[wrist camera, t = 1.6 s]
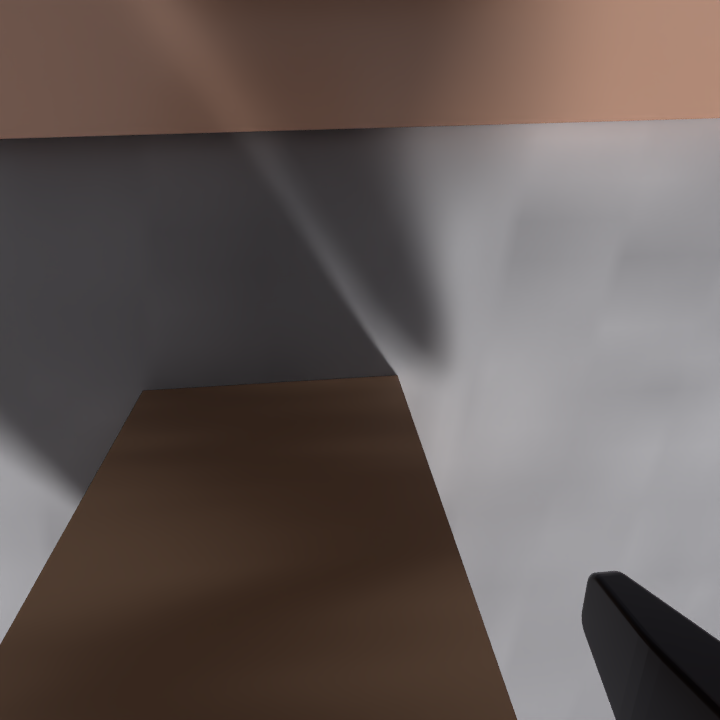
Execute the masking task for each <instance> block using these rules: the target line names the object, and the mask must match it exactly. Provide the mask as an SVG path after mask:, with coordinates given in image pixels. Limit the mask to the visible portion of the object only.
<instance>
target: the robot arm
mask: <svg viewBox="0 0 720 720" xmlns="http://www.w3.org/2000/svg"><path fill="white" fill-rule="evenodd" d="M582 625H583V630H584V633H585V636H586V638H587V641H588V644H589V647H590V649H591V652H592V655H593V658H594V660H595V663H596V666H597V669H598V672H599V674H600V677H601V680H602V683H603V685H604V688H605V691H606V694H607V696H608V699H609V702H610V705H611V708H612V710H613V713H614V716H615V719H616V720H720V641H719V640H718V639H716V638H715V637H713V636H712V635H710V634H709V633H708V632H706V631H705V630H703V629H702V628H701V627H699V626H698V625H696V624H695V623H693V622H692V621H691V620H689V619H688V618H686V617H685V616H683V615H682V614H681V613H679V612H678V611H676V610H675V609H673V608H672V607H671V606H669V605H668V604H666V603H665V602H663V601H662V600H661V599H659V598H658V597H656V596H655V595H653V594H652V593H651V592H649V591H648V590H646V589H645V588H643V587H642V586H641V585H639V584H638V583H636V582H635V581H633V580H632V579H631V578H629V577H628V576H626V575H625V574H623V573H621V572H618V571H608V572H597V573H593V574H591V575H590V576H589V578H588V581H587V587H586V592H585V598H584V603H583V609H582Z"/></svg>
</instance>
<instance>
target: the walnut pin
mask: <svg viewBox="0 0 720 720" xmlns="http://www.w3.org/2000/svg"><path fill="white" fill-rule="evenodd" d="M0 720H517V718H516V715H515V712H514V709H513V706H512V703H511V701H510V698H509V695H508V692H507V689H506V686H505V683H504V680H503V678H502V675H501V672H500V669H499V666H498V663H497V660H496V657H495V655H494V652H493V649H492V646H491V643H490V640H489V637H488V634H487V632H486V629H485V626H484V623H483V620H482V617H481V614H480V611H479V609H478V606H477V603H476V600H475V597H474V594H473V591H472V588H471V586H470V583H469V580H468V577H467V574H466V571H465V568H464V565H463V563H462V560H461V557H460V554H459V551H458V548H457V545H456V542H455V540H454V537H453V534H452V531H451V528H450V525H449V522H448V519H447V517H446V514H445V511H444V508H443V505H442V502H441V499H440V496H439V494H438V491H437V488H436V485H435V482H434V479H433V476H432V473H431V471H430V468H429V465H428V462H427V459H426V456H425V453H424V450H423V448H422V445H421V442H420V439H419V436H418V433H417V430H416V427H415V425H414V422H413V419H412V416H411V413H410V410H409V407H408V405H407V402H406V399H405V396H404V393H403V390H402V387H401V384H400V382H399V379H398V376H397V375H393V376H376V377H360V378H343V379H327V380H310V381H294V382H277V383H261V384H244V385H228V386H211V387H195V388H178V389H161V390H145V391H142V393H141V395H140V397H139V399H138V400H137V402H136V404H135V406H134V407H133V409H132V411H131V413H130V415H129V416H128V418H127V420H126V422H125V423H124V425H123V427H122V429H121V431H120V432H119V434H118V436H117V438H116V439H115V441H114V443H113V445H112V447H111V448H110V450H109V452H108V454H107V456H106V457H105V459H104V461H103V463H102V464H101V466H100V468H99V470H98V472H97V473H96V475H95V477H94V479H93V480H92V482H91V484H90V486H89V488H88V489H87V491H86V493H85V495H84V497H83V498H82V500H81V502H80V504H79V505H78V507H77V509H76V511H75V513H74V514H73V516H72V518H71V520H70V521H69V523H68V525H67V527H66V529H65V530H64V532H63V534H62V536H61V537H60V539H59V541H58V543H57V545H56V546H55V548H54V550H53V552H52V554H51V555H50V557H49V559H48V561H47V562H46V564H45V566H44V568H43V570H42V571H41V573H40V575H39V577H38V578H37V580H36V582H35V584H34V586H33V587H32V589H31V591H30V593H29V594H28V596H27V598H26V600H25V602H24V603H23V605H22V607H21V609H20V611H19V612H18V614H17V616H16V618H15V619H14V621H13V623H12V625H11V627H10V628H9V630H8V632H7V634H6V635H5V637H4V639H3V641H2V643H1V644H0Z"/></svg>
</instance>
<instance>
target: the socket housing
mask: <svg viewBox="0 0 720 720" xmlns="http://www.w3.org/2000/svg"><path fill="white" fill-rule="evenodd" d="M703 118H720V0H0V139H12V138H46V137H81V136H115V135H150V134H184V133H219V132H254V131H288V130H323V129H357V128H392V127H427V126H461V125H496V124H530V123H565V122H599V121H634V120H669V119H703Z"/></svg>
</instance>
